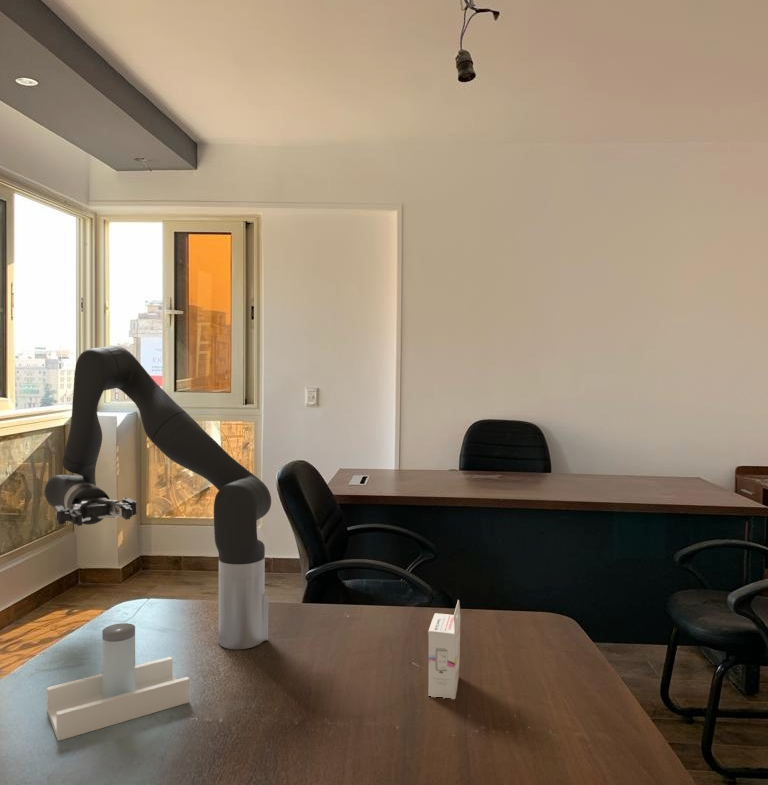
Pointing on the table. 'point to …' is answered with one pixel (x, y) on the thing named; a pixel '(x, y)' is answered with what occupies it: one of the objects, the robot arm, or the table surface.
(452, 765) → the table surface
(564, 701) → the table surface
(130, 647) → the grey capped cylinder
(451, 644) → the ink cartridge box
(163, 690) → the tray
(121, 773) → the table surface
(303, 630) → the table surface
